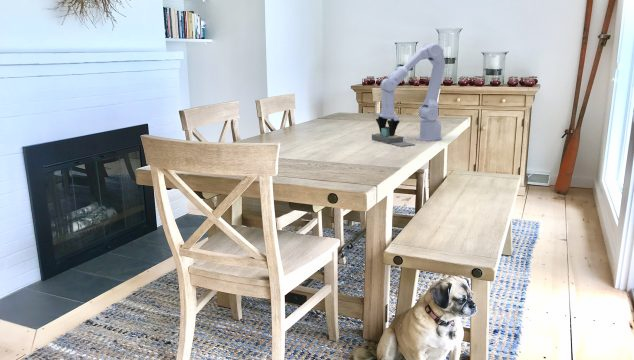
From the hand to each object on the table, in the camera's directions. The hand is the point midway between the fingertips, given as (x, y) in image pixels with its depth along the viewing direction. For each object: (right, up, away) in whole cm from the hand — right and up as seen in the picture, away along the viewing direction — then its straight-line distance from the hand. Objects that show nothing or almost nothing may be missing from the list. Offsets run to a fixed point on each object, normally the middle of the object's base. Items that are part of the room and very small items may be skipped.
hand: (387, 134), depth 245 cm
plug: (0, -3, +1) cm, 3 cm away
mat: (+6, -5, -10) cm, 12 cm away
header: (0, -3, +1) cm, 3 cm away
